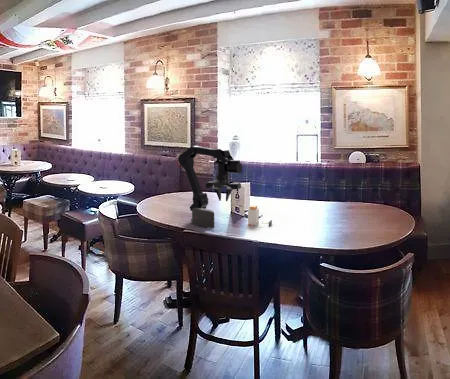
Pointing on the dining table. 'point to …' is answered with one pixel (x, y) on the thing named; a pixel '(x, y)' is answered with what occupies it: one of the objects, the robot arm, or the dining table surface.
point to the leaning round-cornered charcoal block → (203, 217)
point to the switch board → (263, 222)
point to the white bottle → (253, 215)
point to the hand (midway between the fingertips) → (223, 201)
